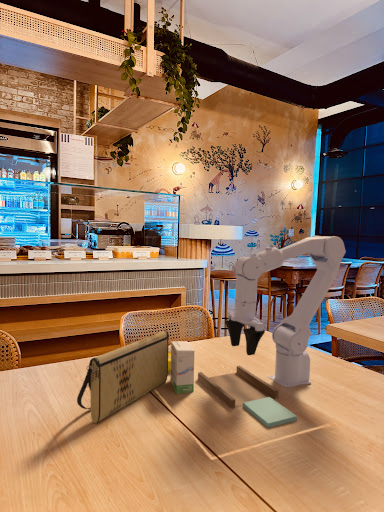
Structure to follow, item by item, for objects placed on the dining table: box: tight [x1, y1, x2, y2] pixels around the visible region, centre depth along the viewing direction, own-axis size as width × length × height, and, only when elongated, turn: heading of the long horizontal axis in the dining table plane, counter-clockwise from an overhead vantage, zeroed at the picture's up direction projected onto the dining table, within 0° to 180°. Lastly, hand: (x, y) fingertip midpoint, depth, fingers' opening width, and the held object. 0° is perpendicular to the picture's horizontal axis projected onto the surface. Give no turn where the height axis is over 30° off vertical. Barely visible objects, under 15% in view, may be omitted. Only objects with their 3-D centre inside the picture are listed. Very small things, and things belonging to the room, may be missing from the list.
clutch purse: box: [76, 330, 170, 425], centre depth 89 cm, size 30×7×15 cm, turn 148°
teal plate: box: [242, 397, 298, 428], centre depth 84 cm, size 8×10×2 cm
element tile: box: [168, 344, 171, 373], centre depth 114 cm, size 15×15×5 cm
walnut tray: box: [197, 365, 279, 409], centre depth 96 cm, size 14×18×2 cm
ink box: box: [169, 340, 195, 394], centre depth 97 cm, size 8×5×12 cm, turn 14°
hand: (242, 350), depth 98 cm, fingers open, 7 cm apart
